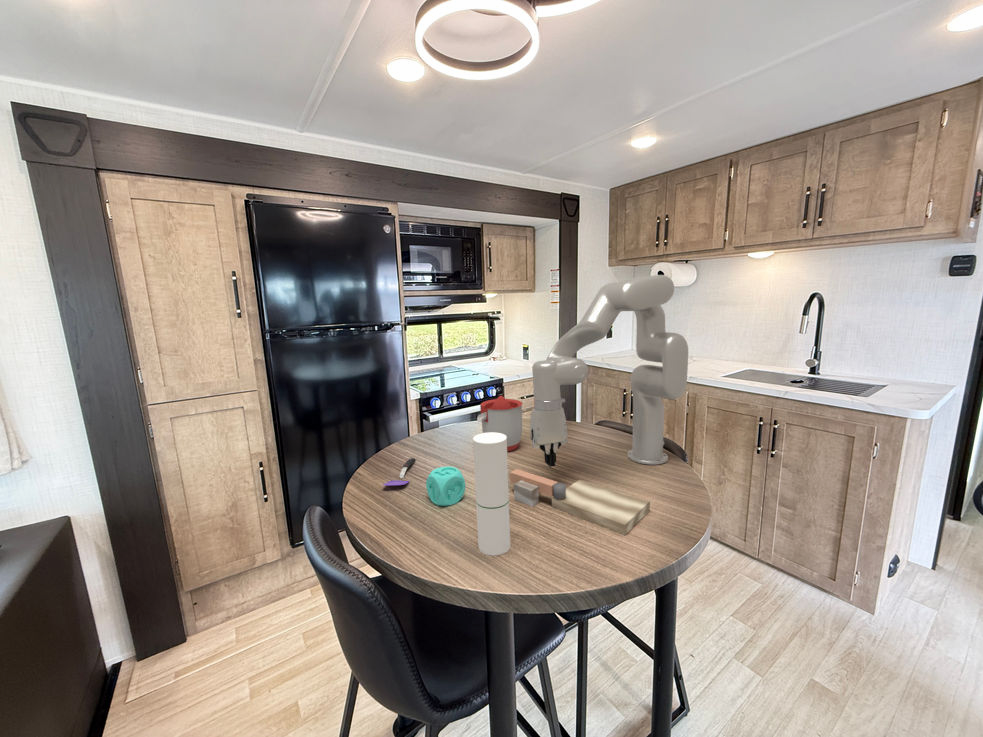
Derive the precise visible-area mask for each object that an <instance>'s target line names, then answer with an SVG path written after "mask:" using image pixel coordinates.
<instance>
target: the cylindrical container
mask: <svg viewBox="0 0 983 737" xmlns="http://www.w3.org/2000/svg"><path fill="white" fill-rule="evenodd" d="M472 444H473V445H472V446H473V461H474V462H473V463H474V464H473V465H474V466H473V467H474V468H473V469H474V483H475V485H474V486H475V487H474V488H475V501H476V502H475V503H476V504H475V505H476V524H477V525H476V526H477V542H478V545H477V547H478V550H479V551H480V552H481V553H482V554H484V555H486V556H491V557H492V556H500V555H503V554H505V553H507V552H508V551H509V550H510V549H511V526H510V525H511V522H510V521H511V519H510V514H509V509H510V494H509V490H508V485H509V468H508V466H509V465H508V451H507V437H506V435H504V434H502V433H496V432H488V433H483V432H482V433H479V434H476V435H474V436H473V438H472Z"/></svg>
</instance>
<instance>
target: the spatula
mask: <svg viewBox="0 0 983 737" xmlns="http://www.w3.org/2000/svg"><path fill="white" fill-rule="evenodd" d="M415 462H416V458H413V457H410V458H408V460H407V461H405V463H404V464H403V465H402V469H401V470H400V473H399V477H400V478H403V479H404V478H405V474H406V471H407V469H409V468H410V467H411V466H413V464H414V463H415ZM409 481H410V480H409ZM409 481H402V480H390V481H387V482H385V483H383V484H382V486H383V487H384V486H385V487H386V486H402V485H406V484H408V483H410V482H409Z"/></svg>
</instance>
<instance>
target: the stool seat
mask: <svg viewBox="0 0 983 737" xmlns="http://www.w3.org/2000/svg"><path fill="white" fill-rule="evenodd" d="M513 489H514V491H513V492H514V500H515V501H516V502H520V503H521V504H525V505H527V506H529V507H534V506H536V505H537V504H538V503H539V502H540V500H539V499H540V496H539V494H540V493H539V487H538V486H535V485H533V484H530V483H527V482H524V481H519V482H517V483H515V484H514V483H513ZM650 503H651V501H649V500H648V499H647V500H646V499H645V498H644V499H643V498H640V497H637V496H634V495H631V494H628V493H625V492H621V491H618V490H614V489H612V488H608V487H605V486H602V485H599V484H596V483H592V482H589V481H586V480H584V479H579V480H577V481H574V483H573V484H571V485H569V486H567V487H566V498H564V499H556V498H554V496H552V497H551V508H554V509H557V510H559V511H561V512H562V511H563V512H565V513H567V514H570V515H572V516H575V517H577V518H580V519H582V520H585V521H588V522H591V523H593V524H595V525H598V526H600V527H602V528H605V529H608V530H611V531H613V532H616V533H619V534H621V535H624V536H626V535H627V534H628V533H629V532H630V531H631V530H632V528H634V527H635V526H636V524H638V523H639V521H641V520H642V519H643V517H644V516H646V515H647V514H648V512H650V509H651V508H650V505H651V504H650Z"/></svg>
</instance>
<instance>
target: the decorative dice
mask: <svg viewBox="0 0 983 737" xmlns="http://www.w3.org/2000/svg"><path fill="white" fill-rule="evenodd" d="M465 481H466V480H465V477H464V475H463V473H462V472H461V470H460V469H458V468H457V467H454V466H448V465H447V466H441V467H437V468H434V469H432V471H431V472H430V473H429V474H428V476H427V479H426V481H425V482H426V484H425V485H426V487H425V488H426V492H427V495H428V497H429V499H430V501H431V502H432V503H433V504H435V505H437V506H440V507H446V506H447V507H448V506H451V505H452V506H453V505H455V504H457V503H458V502H460V500H461V499H462V498H463V497H464V494H465V491H466V482H465Z"/></svg>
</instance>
